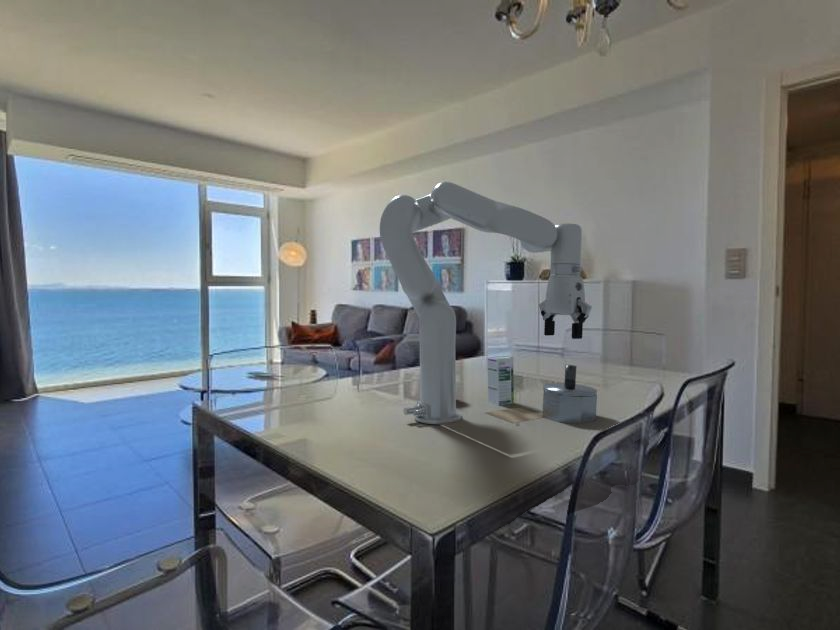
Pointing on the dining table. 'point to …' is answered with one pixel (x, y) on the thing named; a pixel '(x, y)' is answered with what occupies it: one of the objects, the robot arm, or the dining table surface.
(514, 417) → the wooden board
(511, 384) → the syrup box
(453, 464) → the dining table surface
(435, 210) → the robot arm
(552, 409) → the grey round part
